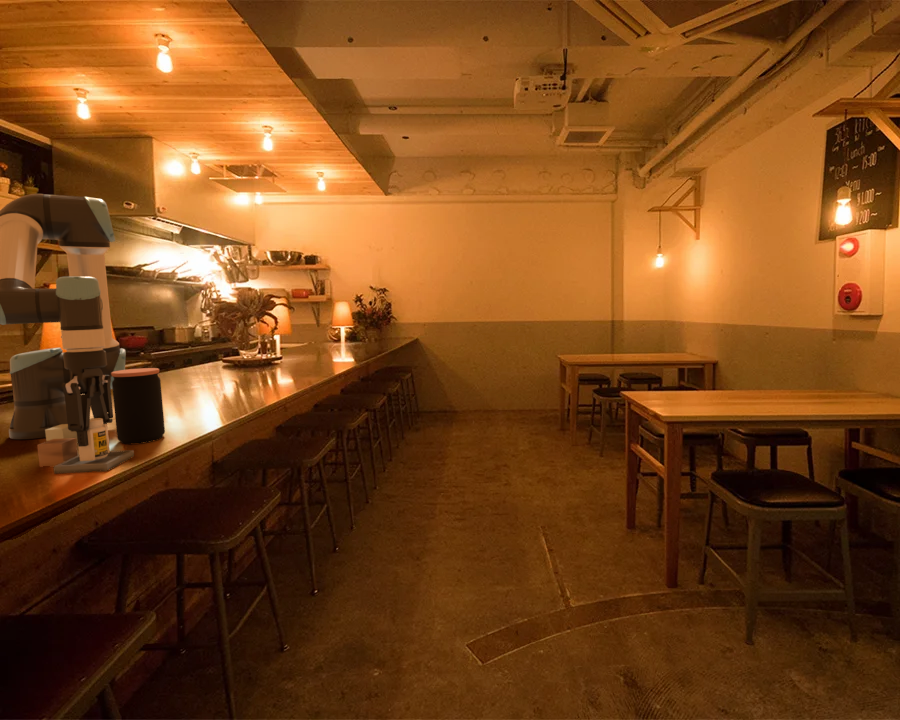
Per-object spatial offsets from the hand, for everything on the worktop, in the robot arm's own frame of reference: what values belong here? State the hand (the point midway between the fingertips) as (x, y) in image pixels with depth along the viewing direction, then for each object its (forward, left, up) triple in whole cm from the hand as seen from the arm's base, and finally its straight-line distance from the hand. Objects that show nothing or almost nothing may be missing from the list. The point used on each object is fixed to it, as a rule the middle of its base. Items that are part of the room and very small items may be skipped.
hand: (95, 456), depth 114 cm
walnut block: (-3, -10, -2) cm, 10 cm away
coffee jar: (-22, -1, -2) cm, 22 cm away
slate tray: (0, 0, -2) cm, 2 cm away
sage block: (-19, -19, -2) cm, 27 cm away
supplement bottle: (0, 0, -1) cm, 1 cm away
